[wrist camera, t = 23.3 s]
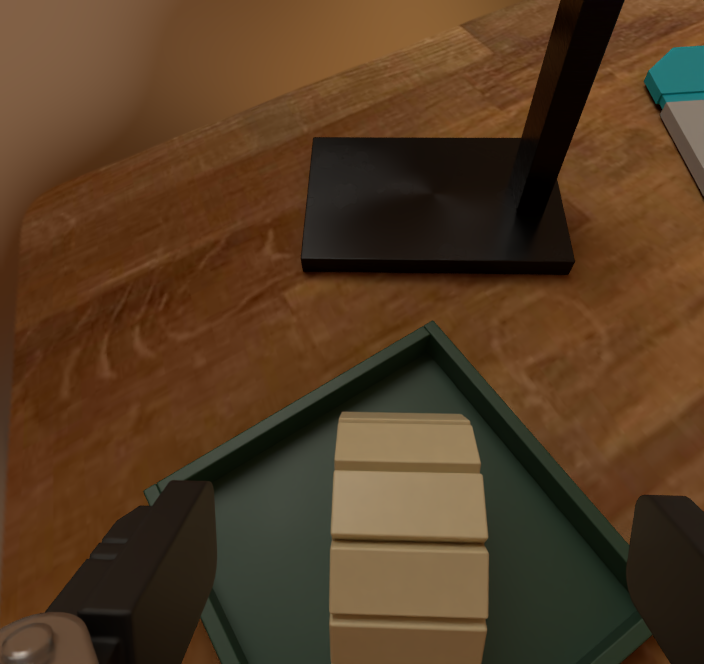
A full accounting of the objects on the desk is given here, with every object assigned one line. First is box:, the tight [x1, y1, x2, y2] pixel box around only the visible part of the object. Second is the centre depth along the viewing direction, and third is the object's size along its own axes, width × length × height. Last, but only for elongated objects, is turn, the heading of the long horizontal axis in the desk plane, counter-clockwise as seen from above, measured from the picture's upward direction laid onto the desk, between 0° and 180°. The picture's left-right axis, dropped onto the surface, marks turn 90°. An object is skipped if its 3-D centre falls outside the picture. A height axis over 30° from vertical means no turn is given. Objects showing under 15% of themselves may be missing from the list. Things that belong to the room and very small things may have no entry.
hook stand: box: [301, 0, 624, 275], centre depth 26 cm, size 15×10×19 cm, turn 88°
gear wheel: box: [329, 412, 489, 664], centre depth 20 cm, size 4×8×8 cm, turn 178°
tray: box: [144, 321, 652, 664], centre depth 23 cm, size 15×15×2 cm
